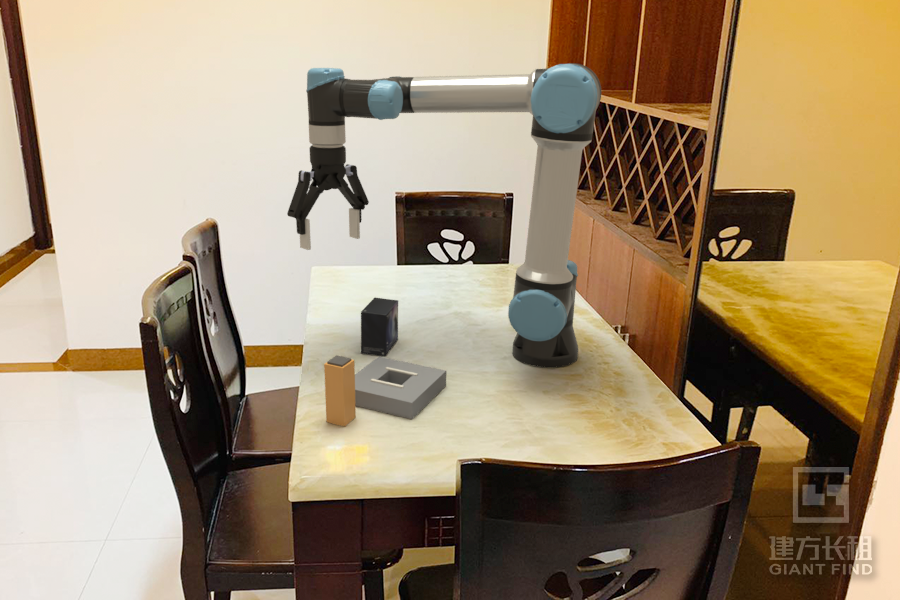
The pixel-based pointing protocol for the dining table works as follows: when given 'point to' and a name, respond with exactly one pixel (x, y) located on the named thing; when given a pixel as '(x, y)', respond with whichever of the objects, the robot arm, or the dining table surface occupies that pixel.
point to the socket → (397, 386)
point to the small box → (379, 326)
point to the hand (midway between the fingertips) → (330, 243)
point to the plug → (340, 390)
